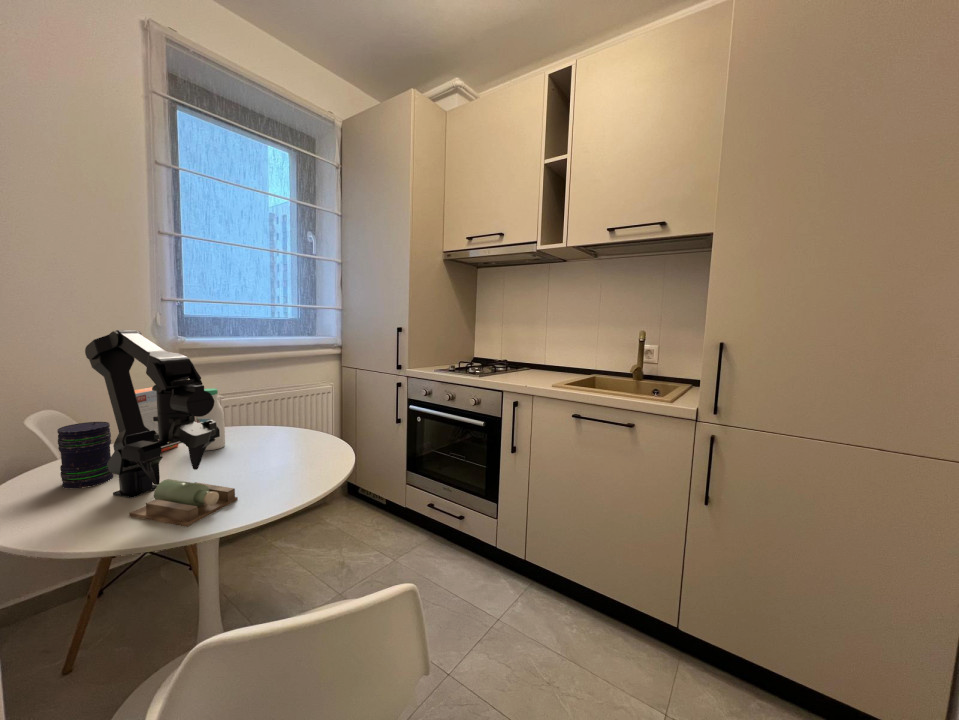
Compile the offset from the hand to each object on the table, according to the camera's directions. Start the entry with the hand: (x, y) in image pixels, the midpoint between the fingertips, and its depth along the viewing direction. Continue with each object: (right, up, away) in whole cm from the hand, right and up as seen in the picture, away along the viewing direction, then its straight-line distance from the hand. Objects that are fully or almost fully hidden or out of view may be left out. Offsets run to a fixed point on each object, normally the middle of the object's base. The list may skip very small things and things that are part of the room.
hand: (176, 476), depth 91 cm
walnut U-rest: (+1, -7, 0) cm, 7 cm away
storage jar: (-34, -5, +13) cm, 36 cm away
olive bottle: (-4, -4, +1) cm, 5 cm away
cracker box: (-35, -3, +35) cm, 50 cm away
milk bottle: (-20, -3, +41) cm, 46 cm away
